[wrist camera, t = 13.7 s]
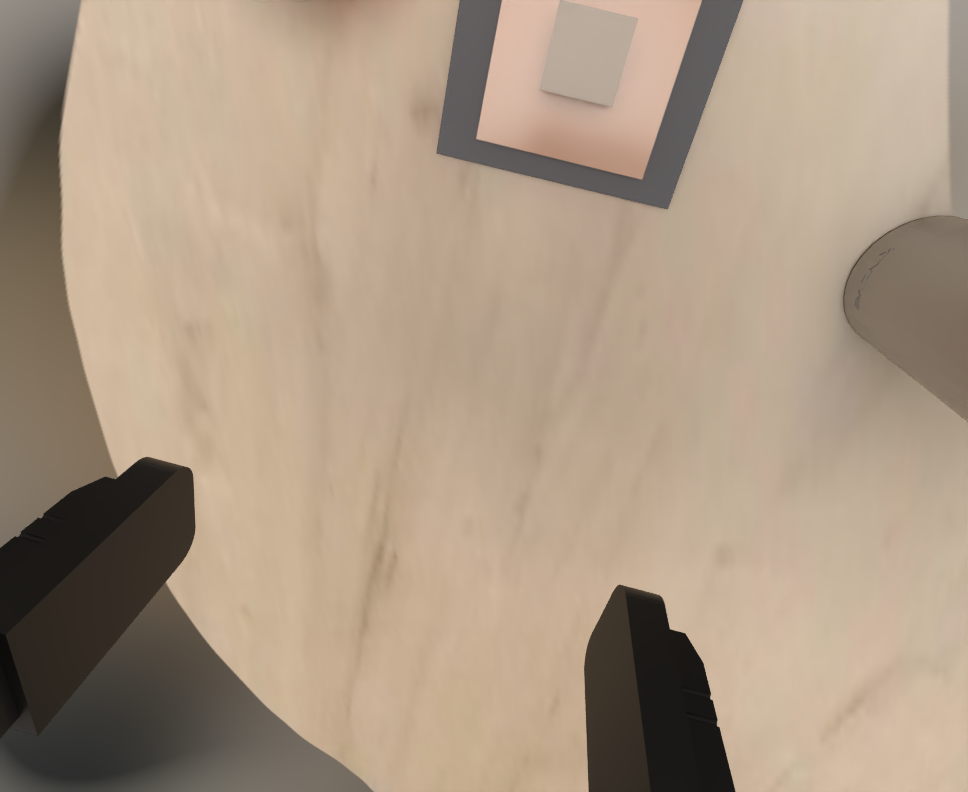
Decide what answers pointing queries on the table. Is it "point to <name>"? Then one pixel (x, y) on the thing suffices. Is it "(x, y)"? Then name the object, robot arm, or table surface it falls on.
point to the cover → (585, 78)
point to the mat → (654, 188)
